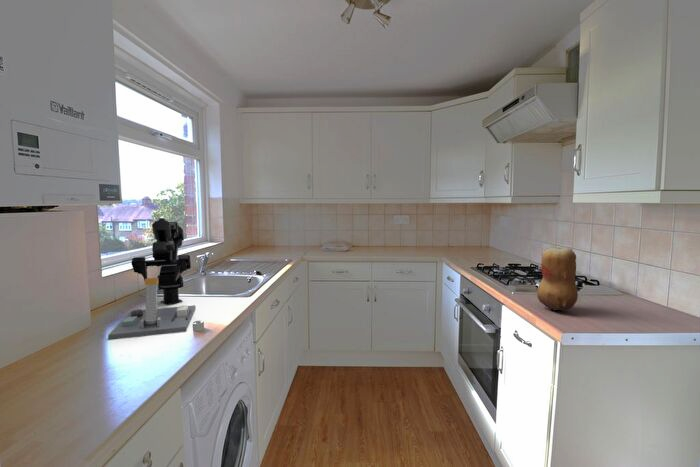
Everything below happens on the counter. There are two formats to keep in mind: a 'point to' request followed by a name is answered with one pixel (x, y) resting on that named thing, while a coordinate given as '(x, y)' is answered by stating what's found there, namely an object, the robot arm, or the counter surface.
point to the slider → (182, 312)
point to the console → (165, 324)
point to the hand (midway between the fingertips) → (160, 281)
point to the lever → (151, 301)
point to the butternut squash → (558, 279)
